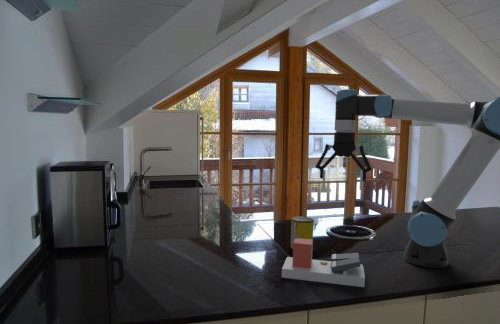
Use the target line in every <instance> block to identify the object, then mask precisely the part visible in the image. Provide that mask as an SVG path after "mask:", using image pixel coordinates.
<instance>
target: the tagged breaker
mask: <svg viewBox="0 0 500 324" xmlns="http://www.w3.org/2000/svg"><path fill="white" fill-rule="evenodd" d="M354 257H359V258H360V255H359V252H352V253H351V252H349V253H332V254H331V258H330V261H331V262H332V261H340V260H344V259H349V258H354Z"/></svg>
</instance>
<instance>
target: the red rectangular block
mask: <svg viewBox="0 0 500 324" xmlns="http://www.w3.org/2000/svg"><path fill="white" fill-rule="evenodd" d="M313 247H314V239H313V240H312V239H301V238H295V240H294V243H293V249H292V257H293V265H292V266H293V267H302V268H311V265H312V259H313V251H314V249H313Z"/></svg>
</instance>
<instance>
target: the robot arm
mask: <svg viewBox="0 0 500 324" xmlns="http://www.w3.org/2000/svg"><path fill="white" fill-rule="evenodd" d="M335 99H336V100H335V114H334V116H335V117H334V119H335V120H334V131H335V132H334V136H333V144H328V143H326V144H325V145H324V146H325V147H324V150H323V152H322V154H321V156H320V158H319V159H318V161H317V163H316V164H315V168H316V169H318V170H319V178H320V179H322V188H325V187H326V171H327V170H326V167H328V165H329V164H330V163H331V162H332V161H333V160H334V159H335V158H336V157H340V158H341V157H345V158H348V157H351V158H352V159H353V161H354V162H355V163H356V165H358V167H359V169H361V171H360V173H359V174H360V175H359V191H363V183H364V182H366V180H367V172H371V171H372V167H371V165H370V162H369V160H368V158H367V156H366V154H365V151H364V145H362V144H361V145H355V143H356V133H355V131H356V128H357V127H356V126H357V123H356V122H357V117H361V116H363V117H375V118H378V119H393V120H394V119H395V120H405V121H414V122H415V121H416V122H424V123H425V122H426V123H434V124H436V123H437V124H445V125H455V126H465V127H466V128H468V129H469V130H470V131H471V137H470V138H469V140H468V141H467V143H466V144H465V145H464V147H463V148H462V150H461V151H460V153H459V155H458V156H457V157H456V158H455V160H454V162H453V163H452V165H451V166H450V168H449V169H448V171H447V172H445V173H446V174H445V175H444V177H443V178H442V179H441V181H440V182H439V184H438V185H437V186H436V188H435V190H434V191H433V193H432V194H431V195H430V196H429V197H425V198H423V199H422V200H420V199H419V200H417V199H415V200H413V202H412V205H411V216H410V218H409V219H408V222H407V226H406V227H407V232H408V235H409V241H408V243H407V245H406V248H405V250H404V252H403V253H404V255H403V259H404V260H405V262H408V263H410V264H412V265H414V266H418V267H422V268H423V267H424V268H429V269H442V268H447V267H448V265H449V256H448V254H447V253H448V252H447V249H446V246H445V239H446V236H447V233H448V231H449V229H450V228H451V227H452V225H453V223H454V222H455V221H456V220H457V216H456V211H457V210H458V208H459V207H460V205H461V204H462V202H463V201H464V200H465V198H466V196H468V194H469V192H470V191H471V189H472V188H473V187H474V185H475V184H476V182H477V181H478V180H479V178H480V177H481V176H482V174H483V173H484V171H485V170H486V168H487V166H489V164H490V163H491V161H492V160H493V158H494V157H495V156H496V154H497V153H498V152H499V150H500V96H498V97H495V98H493V99H491V100H490V101H473V102H471V103H457V102H444V101H428V100H419V99H418V100H417V99H416V100H415V99H400V98H392V96H391V95H390V94H383V93H381V94H358V90H357V89H350V88H345V89H344V88H342V89H338V90H337V91H336V97H335ZM331 149H332V150H333V151H334V153H332V154H331V155H330V157H329V158H328V159H327V160H326V161H325V162H324V163H323V164H322V162H323V160H324V158H325V157H326V156H327V153H328V151H330V150H331ZM356 150H357V151H358V152H359V153H360V156H361V157H362V160H363V162H364V163H365V166H366V167H364V165H363V164H362V163H361V161H360V160H359V159H358V158H357V157H356V155H355V154H354V152H355V151H356ZM321 164H322V165H321Z"/></svg>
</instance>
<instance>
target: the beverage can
mask: <svg viewBox="0 0 500 324" xmlns="http://www.w3.org/2000/svg"><path fill="white" fill-rule="evenodd" d="M290 223H291V225H290V227H291V228H290V249H292V250H293V243H294V240H295V238H301V239H312V240H313V241H314V224H315V223H314V218H313V217H309V216H292V217H291V222H290Z"/></svg>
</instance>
